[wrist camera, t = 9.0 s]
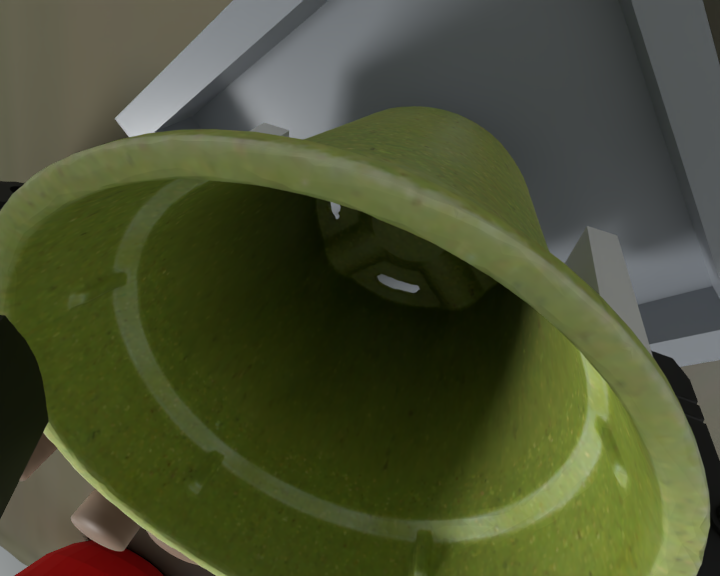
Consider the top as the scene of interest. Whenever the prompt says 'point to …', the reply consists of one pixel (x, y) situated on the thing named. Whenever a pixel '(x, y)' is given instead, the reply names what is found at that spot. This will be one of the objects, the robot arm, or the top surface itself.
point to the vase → (90, 562)
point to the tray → (503, 115)
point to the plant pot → (345, 359)
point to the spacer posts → (98, 512)
